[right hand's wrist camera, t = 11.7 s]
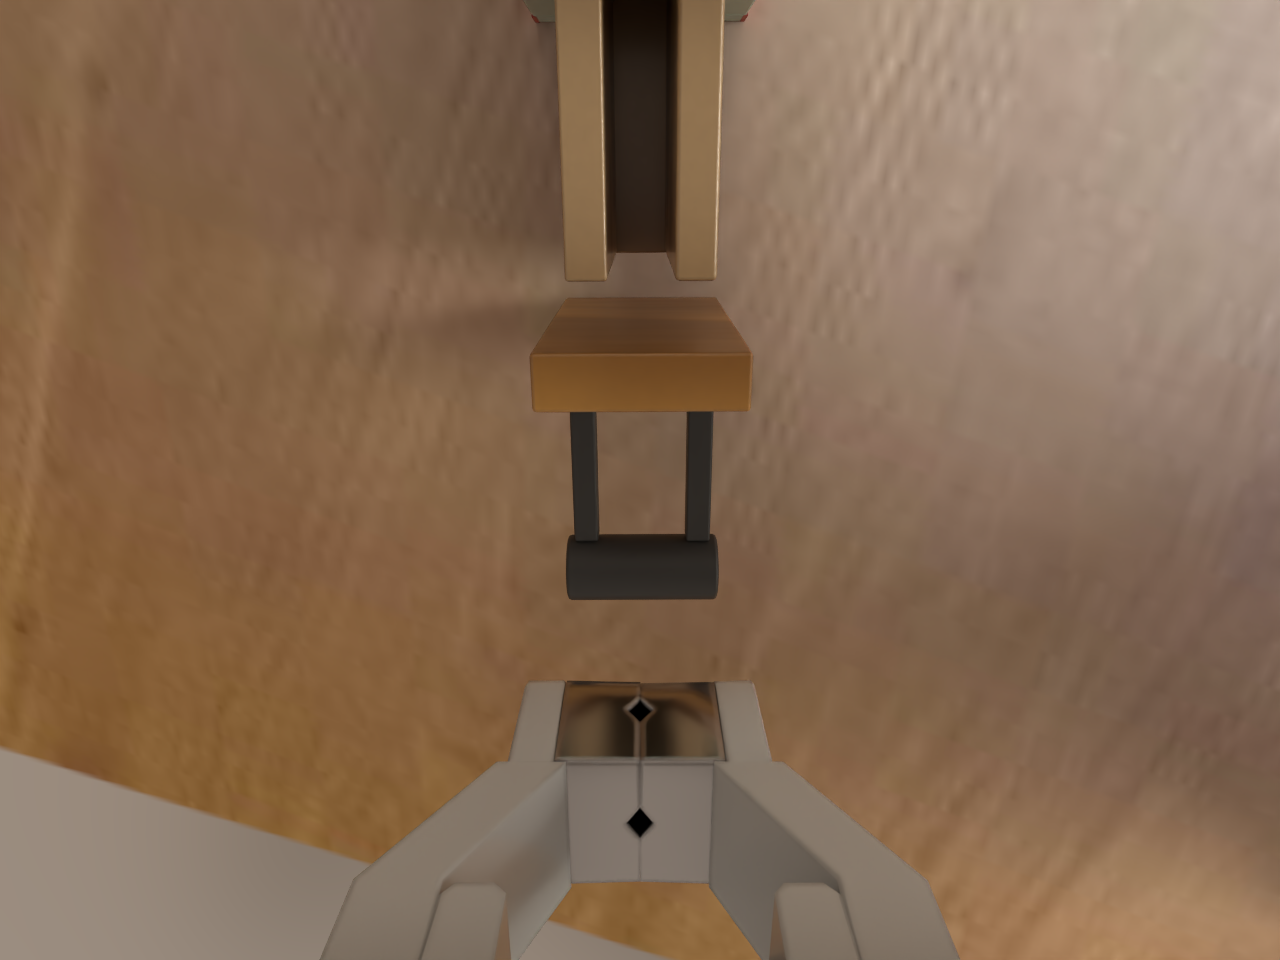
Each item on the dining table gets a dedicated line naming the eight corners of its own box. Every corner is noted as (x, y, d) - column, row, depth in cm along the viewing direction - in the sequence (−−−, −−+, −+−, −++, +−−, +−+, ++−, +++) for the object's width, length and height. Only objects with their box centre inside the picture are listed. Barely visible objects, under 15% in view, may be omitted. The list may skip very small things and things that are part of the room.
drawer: (710, 520, 25) (739, 662, 18) (573, 521, 25) (546, 663, 18) (735, -362, 17) (805, -764, 10) (540, -360, 17) (466, -761, 10)
